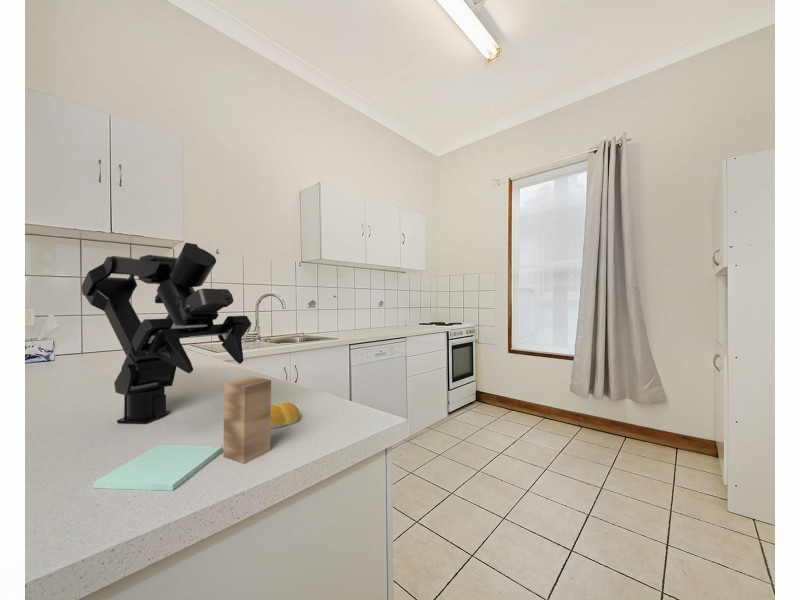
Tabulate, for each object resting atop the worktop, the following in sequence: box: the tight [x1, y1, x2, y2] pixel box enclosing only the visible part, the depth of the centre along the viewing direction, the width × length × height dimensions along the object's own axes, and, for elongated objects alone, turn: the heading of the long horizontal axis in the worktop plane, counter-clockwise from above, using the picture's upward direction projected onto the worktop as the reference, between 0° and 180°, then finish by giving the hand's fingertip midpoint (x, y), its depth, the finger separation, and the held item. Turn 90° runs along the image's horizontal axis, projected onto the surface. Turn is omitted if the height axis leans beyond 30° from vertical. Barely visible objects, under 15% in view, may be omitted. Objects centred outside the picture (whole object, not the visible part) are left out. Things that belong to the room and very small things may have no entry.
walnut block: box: [222, 376, 272, 465], centre depth 52 cm, size 5×5×12 cm
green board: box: [92, 444, 224, 492], centre depth 47 cm, size 11×11×1 cm
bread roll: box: [271, 401, 301, 430], centre depth 66 cm, size 8×9×4 cm
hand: (218, 366), depth 56 cm, fingers open, 9 cm apart
